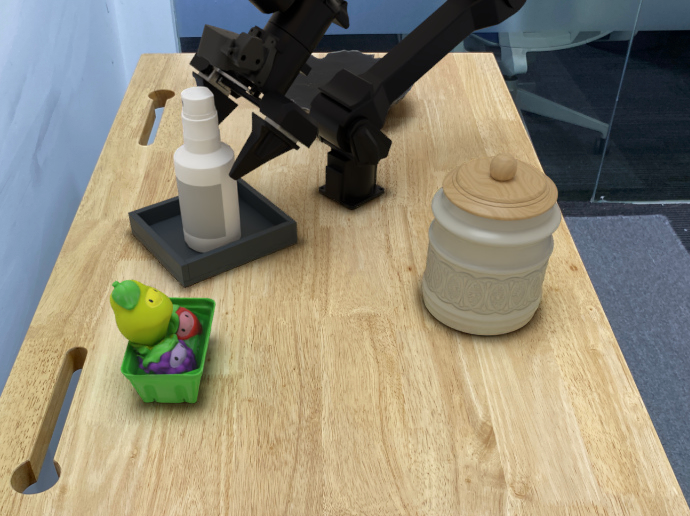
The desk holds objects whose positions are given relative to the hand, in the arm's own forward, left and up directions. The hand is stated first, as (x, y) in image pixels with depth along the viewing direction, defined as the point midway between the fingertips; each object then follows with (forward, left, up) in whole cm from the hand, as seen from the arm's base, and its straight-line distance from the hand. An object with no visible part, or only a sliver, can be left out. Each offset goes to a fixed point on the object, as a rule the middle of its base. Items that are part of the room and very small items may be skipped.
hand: (210, 161), depth 87 cm
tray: (0, -1, -11) cm, 11 cm away
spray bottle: (+1, 0, -10) cm, 10 cm away
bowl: (-36, -16, -9) cm, 41 cm away
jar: (-14, +29, -11) cm, 34 cm away
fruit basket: (+18, +15, -11) cm, 26 cm away
